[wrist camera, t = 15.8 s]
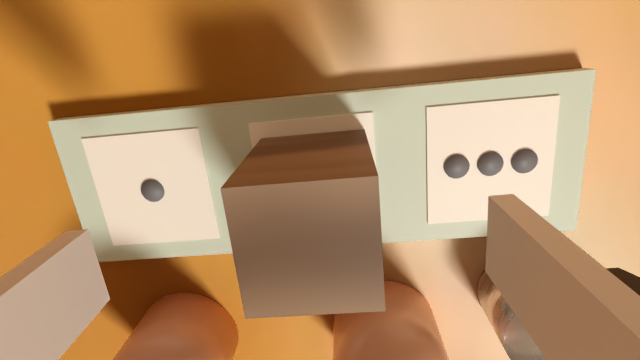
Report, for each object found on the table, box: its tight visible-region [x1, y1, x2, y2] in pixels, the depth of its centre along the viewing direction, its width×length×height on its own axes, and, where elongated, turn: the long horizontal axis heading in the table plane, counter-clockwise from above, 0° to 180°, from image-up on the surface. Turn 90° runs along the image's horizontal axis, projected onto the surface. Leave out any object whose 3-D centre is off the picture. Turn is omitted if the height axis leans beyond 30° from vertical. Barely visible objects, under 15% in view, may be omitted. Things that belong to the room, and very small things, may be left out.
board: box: [48, 68, 596, 262], centre depth 20 cm, size 26×8×1 cm, turn 96°
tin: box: [477, 270, 546, 360], centre depth 21 cm, size 5×5×4 cm
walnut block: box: [220, 129, 386, 319], centre depth 16 cm, size 5×5×7 cm
